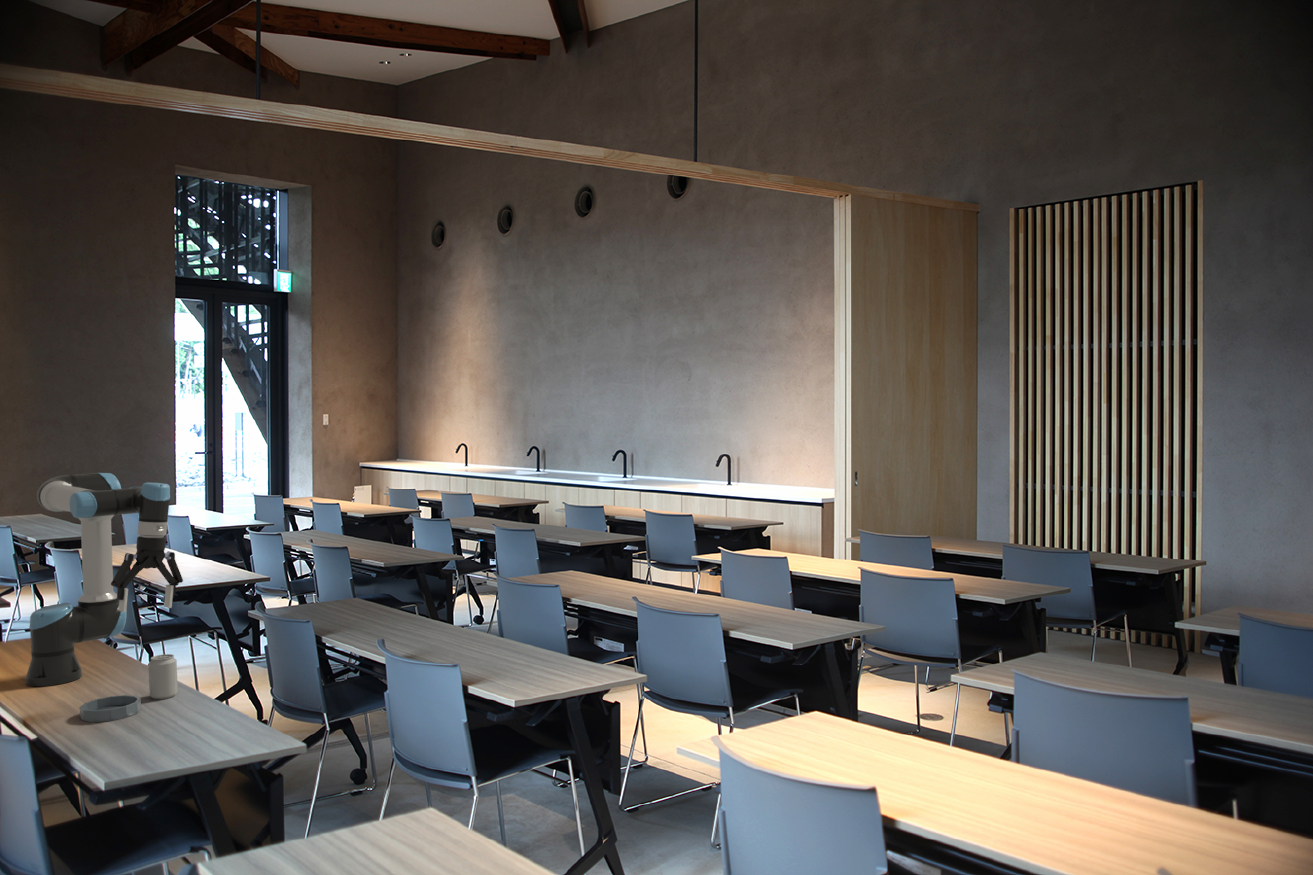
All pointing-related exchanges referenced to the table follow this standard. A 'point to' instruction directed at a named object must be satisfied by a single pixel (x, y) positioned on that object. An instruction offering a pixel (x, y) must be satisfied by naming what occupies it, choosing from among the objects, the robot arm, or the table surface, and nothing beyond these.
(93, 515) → the robot arm
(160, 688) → the can
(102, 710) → the dish
